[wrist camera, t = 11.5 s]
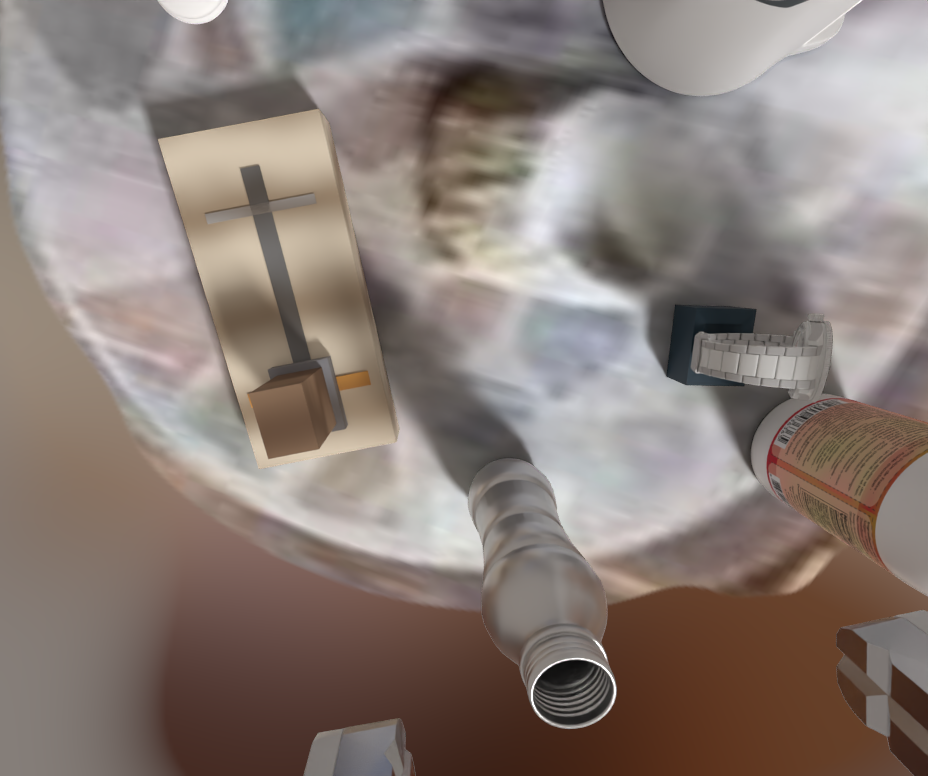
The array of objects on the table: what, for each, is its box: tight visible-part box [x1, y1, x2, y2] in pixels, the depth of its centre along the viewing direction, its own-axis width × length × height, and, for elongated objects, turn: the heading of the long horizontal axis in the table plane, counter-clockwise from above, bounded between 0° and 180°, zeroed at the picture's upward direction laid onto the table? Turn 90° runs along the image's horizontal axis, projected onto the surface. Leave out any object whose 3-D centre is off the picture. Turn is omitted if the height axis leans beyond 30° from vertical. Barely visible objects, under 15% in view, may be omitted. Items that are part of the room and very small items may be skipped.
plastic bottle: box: [468, 458, 617, 729], centre depth 30 cm, size 6×7×20 cm
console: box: [158, 109, 400, 469], centre depth 34 cm, size 22×10×3 cm, turn 10°
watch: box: [667, 305, 833, 403], centre depth 32 cm, size 6×8×11 cm
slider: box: [249, 356, 348, 459], centre depth 31 cm, size 5×4×6 cm
